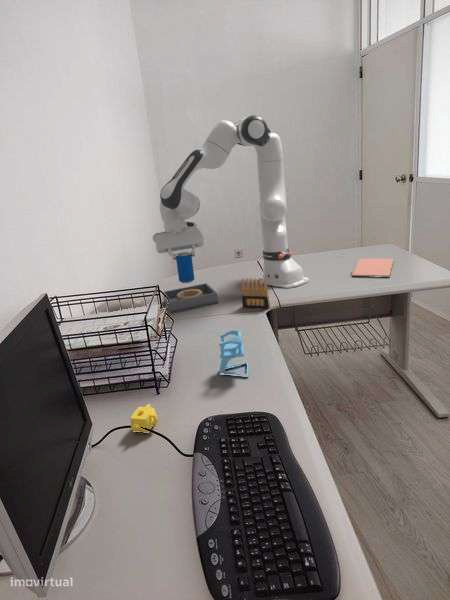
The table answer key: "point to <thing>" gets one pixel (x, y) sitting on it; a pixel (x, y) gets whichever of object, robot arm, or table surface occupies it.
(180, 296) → the tray
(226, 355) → the chair
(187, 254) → the beverage can
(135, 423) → the yellow block with hole
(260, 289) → the ammunition clip
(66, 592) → the table surface
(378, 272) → the notebook
